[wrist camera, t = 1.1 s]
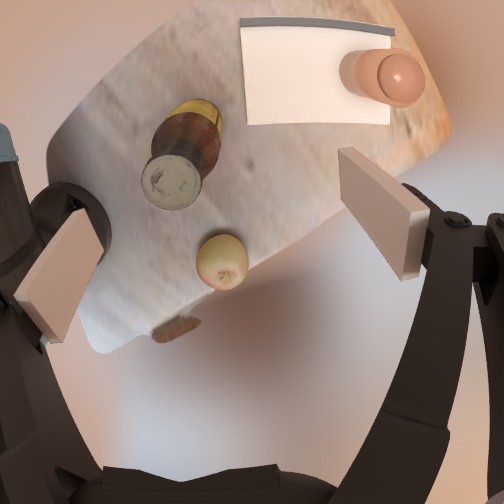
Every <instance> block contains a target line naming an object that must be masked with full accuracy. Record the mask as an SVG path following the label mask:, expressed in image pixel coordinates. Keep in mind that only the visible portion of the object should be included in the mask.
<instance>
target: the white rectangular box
mask: <svg viewBox="0 0 504 504" xmlns="http://www.w3.org/2000/svg"><path fill="white" fill-rule="evenodd" d="M239 25H240V38H241V50H242V63H243V76H244V89H245V102H246V115H247V123H248V125H260V124H277V123H309V122H339V123H370V124H387V125H389V123H390V105H387V104H384V103H381V102H378V101H375V100H372V99H368V98H365V97H362V96H358V95H355V94H353V93H351V92H350V91H348V90H347V89H346V87H345V86H344V85H343V83H342V81H341V79H340V75H339V66H340V63H341V61H342V59H343V57H344V56H345V55H347V54H348V53H350V52H352V51H355V50H367V49H389V48H391V43H390V36H395V29H394V28H390V27H386V26H381V25H375V24H369V23H363V22H356V21H348V20H339V19H329V18H316V17H294V16H264V17H245V18H240V22H239Z"/></svg>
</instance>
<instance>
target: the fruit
mask: <svg viewBox="0 0 504 504" xmlns="http://www.w3.org/2000/svg"><path fill="white" fill-rule="evenodd" d="M248 265H249V263H248V255H247V252H246V250H245V247H244V246H243V244H242V243H241V242H240V241H239V240H238V239H237V238H235V237H233V236H231V235H227V234H222V235H218V236H215V237H212V238H211V239H209V240H208V241H207V242H206V243H205V244H204V245H203V246H202V247H201V249H200V250H199V252H198V255H197V258H196V269H197V272H198V275H199V277H200V278H201V280H202V281H203V282H205V283H206V284H207V285H209V286H210V287H212V288H215V289H218V290H230V289H233V288H235V287H236V286H238V285H239V284H240V283H241V282H242V281H243V280H244V278H245V277H246V274H247V272H248Z"/></svg>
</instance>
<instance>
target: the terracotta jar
mask: <svg viewBox="0 0 504 504" xmlns="http://www.w3.org/2000/svg"><path fill="white" fill-rule="evenodd" d="M339 75H340V79H341V81H342V83H343V85H344V86H345V87H346V89H347V90H348V91H350V92H351V93H353V94H355V95H358V96H362V97H365V98H368V99H372V100H375V101H378V102H381V103H384V104H387V105H390V106H393V107H397V108H405V107H408V106H411V105H413V104H414V103H415V102H416V101H417V100H418V99H419V98H420V96H421V95H422V93H423V91H424V87H425V76H424V73H423V70H422V68H421V66H420V64H419V63H418V61H417V60H416V59H415V58H414V57H413V56H412V55H411V54H410V53H408V52H407V51H404V50H402V49H397V48H389V49H367V50H355V51H352V52H350V53H348V54H347V55H345V56H344V57H343V59H342V61H341V63H340V66H339Z"/></svg>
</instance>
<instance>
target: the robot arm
mask: <svg viewBox="0 0 504 504" xmlns="http://www.w3.org/2000/svg"><path fill="white" fill-rule="evenodd" d="M338 160H339V174H340V192H341V200H342V201H343V203H344V204H345V205H346V207H347V208H348V209H349V210H350V211H351V213H352V214H353V215H354V217H355V218H356V219H357V221H358V222H359V223H360V225H361V226H362V227H363V229H364V230H365V231H366V233H367V234H368V235H369V237H370V238H371V240H372V241H373V242H374V244H375V245H376V246H377V247H378V249H379V251H380V252H381V253H382V255H383V256H384V258H385V259H386V260H387V262H388V263H389V265H390V266H391V267H392V269H393V271H394V272H395V274H396V275H397V277H398V278H399V280H400V281H401V282H402V281H405V280H409V279H413V278H416V277H419V273H420V268H421V263H422V265H423V266H424V267H425V268H426V270H427V272H426V276H425V281H424V285H423V289H422V292H421V296H420V300H419V304H418V307H417V310H416V314H415V317H414V321H413V324H412V327H411V330H410V333H409V336H408V340H407V343H406V346H405V348H404V351H403V354H402V357H401V359H400V362H399V365H398V368H397V370H396V373H395V375H394V378H393V381H392V383H391V385H390V388H389V390H388V393H387V395H386V397H385V399H384V402H383V404H382V406H381V408H380V410H379V413H378V415H377V417H376V419H375V421H374V423H373V425H372V427H371V429H370V431H369V433H368V435H367V437H366V439H365V441H364V443H363V445H362V447H361V449H360V451H359V453H358V454H357V456H356V458H355V460H354V461H353V463H352V465H351V467H350V468H349V470H348V472H347V474H346V475H345V477H344V479H343V480H342V482H341V484H340V485H339V487H338V488H337V487H335V486H333V485H331V484H329V483H328V482H325V481H323V480H321V479H318V478H316V477H312V476H309V475H305V474H300V473H294V472H283V471H280V469H279V467H278V466H277V464H273V465H266V466H258V467H249V468H239V469H228V470H225V471H221V472H219V473H215V474H211V475H208V476H205V477H200V478H197V479H193V480H189V481H185V482H177V481H173V480H170V479H166V478H163V477H160V476H156V475H153V474H150V473H147V472H144V471H141V470H136V469H124V468H115V467H107V466H103V471H102V470H101V469H100V468H99V466H98V465H97V463H96V462H95V460H94V458H93V456H92V455H91V453H90V451H89V449H88V447H87V445H86V444H85V442H84V440H83V438H82V436H81V434H80V432H79V430H78V428H77V426H76V424H75V422H74V420H73V417H72V415H71V413H70V411H69V409H68V407H67V404H66V402H65V399H64V397H63V395H62V392H61V390H60V387H59V385H58V382H57V380H56V377H55V374H54V372H53V369H52V366H51V363H50V361H49V357H48V354H47V351H46V349H45V346H46V344H47V342H48V341H49V342H50V343H51V344H53V343H63V341H64V338H65V336H66V333H67V331H68V328H69V326H70V323H71V321H72V319H73V316H74V314H75V311H76V309H77V307H78V304H79V302H80V300H81V298H82V295H83V293H84V291H85V289H86V287H87V285H88V282H89V280H90V278H91V276H92V274H93V272H94V270H95V268H96V266H98V265H99V263H100V262H101V261H102V260H103V258H104V256H105V254H106V252H107V251H108V248H109V246H110V242H111V228H110V223H109V220H108V217H107V215H106V213H105V211H104V209H103V208H102V206H101V205H100V203H99V202H98V201H97V200H96V199H95V198H94V197H93V196H92V195H91V194H90V193H89V192H87V191H86V190H84V189H83V188H81V187H79V186H76V185H73V184H70V183H56V184H52V185H50V186H48V187H46V188H45V189H43V190H42V191H41V192H40V193H39V194H38V195H37V196H36V197H35V198H34V199H33V201H32V202H31V204H29V201H28V198H27V195H26V191H25V188H24V184H23V181H22V177H21V174H20V170H19V166H18V162H17V161H19V159H18V156H16V154H15V150H14V147H13V143H12V139H11V136H10V132H9V130H8V128H7V127H6V126H5V125H4V124H2V123H0V504H425V502H426V500H427V497H428V495H429V493H430V491H431V489H432V486H433V484H434V482H435V479H436V477H437V475H438V472H439V470H440V467H441V465H442V462H443V459H444V456H445V454H446V451H447V447H448V444H449V440H450V431H449V430H448V428H447V424H448V420H449V416H450V413H451V409H452V405H453V402H454V397H455V394H456V390H457V386H458V381H459V377H460V372H461V367H462V362H463V357H464V351H465V345H466V339H467V332H468V324H469V315H470V306H471V293H472V282H473V286H474V290H475V294H476V299H477V304H478V309H479V314H480V319H481V325H482V331H483V337H484V344H485V352H486V361H487V369H488V383H489V404H490V437H489V455H488V472H487V495H488V501H487V502H486V503H485V504H504V214H500V213H492V214H490V215H489V217H488V220H487V225H486V226H484V225H472V222H471V221H470V220H469V219H468V218H467V217H466V216H464V215H463V214H460V213H457V212H452V211H446V212H444V211H442V210H441V209H440V208H439V207H438V206H437V205H436V204H434V203H433V202H432V201H431V200H429V199H428V198H427V197H426V196H425V195H422V193H421V192H420V191H419V190H417V189H416V188H415V187H413V186H410V185H408V184H405V183H402V184H400V183H399V182H398V181H397V180H395V179H394V178H393V177H392V176H390V175H389V174H388V173H386V172H385V171H384V170H383V169H381V168H380V167H379V166H377V165H376V164H375V163H373V162H372V161H371V160H369V159H368V158H367V157H365V156H364V155H362V154H361V153H360V152H358V151H357V150H355V149H354V148H353V147H349V148H341V149H338Z"/></svg>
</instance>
